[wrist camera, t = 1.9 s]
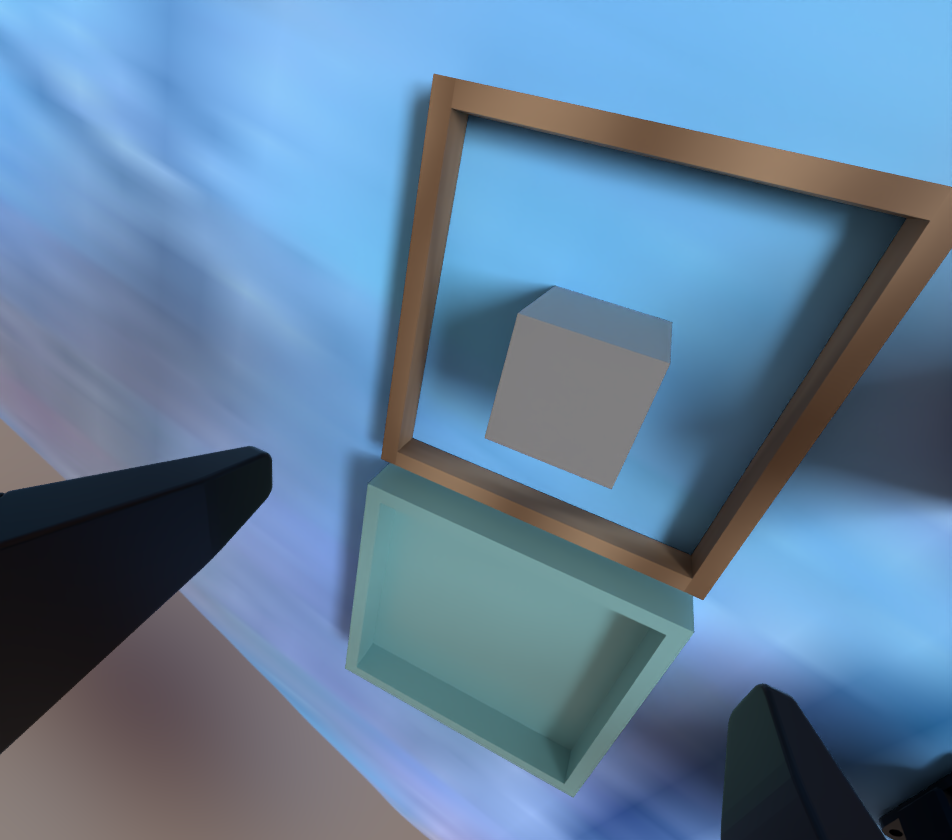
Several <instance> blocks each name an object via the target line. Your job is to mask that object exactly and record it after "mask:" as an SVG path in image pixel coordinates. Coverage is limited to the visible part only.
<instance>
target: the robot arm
mask: <svg viewBox="0 0 952 840" xmlns="http://www.w3.org/2000/svg"><path fill="white" fill-rule="evenodd" d="M271 490H272V458H271V456H270V454H268V453H267V452H265V451H263V450H260V449H258V448H256V447H253V446H247V447H241V448H236V449H231V450H225V451H220V452H215V453H209V454H204V455H199V456H193V457H188V458H183V459H177V460H172V461H167V462H161V463H156V464H151V465H145V466H140V467H135V468H129V469H124V470H119V471H113V472H108V473H103V474H97V475H92V476H87V477H81V478H76V479H71V480H65V481H60V482H55V483H50V484H45V485H40V486H34V487H29V488H23V489H18V490H12V491H8V492H7V493H0V754H1V753H2V752H3V751H5V750H6V749H7V748H8V747H9V746H10V745H11V744H12V743H13V742H14V741H15V740H16V739H18V738H19V737H20V736H21V735H22V734H23V733H24V732H25V731H26V730H27V729H28V728H29V727H31V726H32V725H33V724H34V723H35V722H36V721H37V720H38V719H39V718H40V717H41V716H43V715H44V714H45V713H46V712H47V711H48V710H49V709H50V708H51V707H52V706H53V705H54V704H56V703H57V702H58V701H59V700H60V699H61V698H62V697H63V696H64V695H65V694H66V693H67V692H68V691H70V690H71V689H72V688H73V687H74V686H75V685H76V684H77V683H78V682H79V681H80V680H81V679H83V678H84V677H85V676H86V675H87V674H88V673H89V672H90V671H91V670H92V669H94V668H95V667H96V666H97V665H98V664H99V663H100V662H101V661H102V660H103V659H104V658H106V656H108V655H109V654H110V653H111V652H112V651H113V650H114V649H115V648H116V647H117V646H119V645H120V644H121V643H122V642H123V641H124V640H125V639H126V638H127V637H128V636H129V635H130V634H131V633H133V632H134V631H135V630H136V629H137V628H138V627H139V626H140V625H141V624H142V623H144V622H145V621H146V620H147V619H148V618H149V617H150V616H151V615H152V614H153V613H154V612H155V611H157V610H158V609H159V608H160V607H161V606H162V605H163V604H164V603H165V602H166V601H167V600H168V599H170V598H171V597H172V596H173V595H174V594H175V593H176V592H177V591H178V590H179V589H180V588H182V587H183V586H184V585H185V584H186V583H187V582H188V581H189V580H190V579H191V578H192V577H193V576H195V575H196V574H197V573H198V572H199V571H200V570H201V569H202V568H203V567H204V566H205V565H206V564H207V563H208V562H209V561H210V560H212V559H213V557H214V556H215V555H216V554H217V553H218V552H219V551H220V550H221V549H222V548H223V547H224V546H225V545H226V544H227V542H228V541H229V540H230V539H231V538H232V537H233V536H234V535H235V534H236V532H237V531H238V530H239V529H240V528H241V527H242V526H243V525H244V524H245V522H246V521H247V520H248V519H249V518H250V517H251V516H252V515H253V514H254V512H255V511H256V510H257V509H258V508H259V507H260V506H261V505H262V504H263V502H264V501H265V500H266V499H267V498H268V496H269V495H270V492H271ZM879 822H880V825H881V828H882V832H883V833H884V834H885V835H886V836H888V837H889V838H891V839H893V840H952V773H950V774H949V775H947V776H946V777H944V778H942V779H941V780H939V781H938V782H936V783H935V784H933V785H931V786H930V787H928V788H927V789H925V790H924V791H922V792H920V793H919V794H917V795H916V796H914V797H912V798H911V799H909V800H908V801H906V802H905V803H903V804H901V805H900V806H898V807H897V808H895V809H894V810H892V811H890V812H889V813H887V814H886V815H884V816H883V817H881V818H880V819H879ZM882 832H881V831H880V829H879V828H878V826H877V825H876V823H875V822H874V820H873V819H872V817H871V815H870V814H869V812H868V811H867V809H866V808H865V806H864V805H863V803H862V802H861V800H860V799H859V797H858V796H857V794H856V793H855V791H854V790H853V788H852V786H851V785H850V783H849V782H848V780H847V779H846V777H845V776H844V774H843V773H842V771H841V770H840V768H839V767H838V765H837V764H836V762H835V761H834V759H833V758H832V756H831V754H830V753H829V751H828V750H827V748H826V747H825V745H824V744H823V742H822V741H821V739H820V738H819V736H818V735H817V733H816V732H815V730H814V729H813V727H812V725H811V724H810V722H809V721H808V719H807V718H806V716H805V715H804V713H803V712H802V710H801V709H800V707H799V706H798V704H797V703H796V701H795V700H794V699H793V698H792V697H791V696H790V695H788V694H786V693H784V692H782V691H780V690H778V689H776V688H773V687H771V686H769V685H767V684H763V683H762V684H758V685H756V686H755V687H754V688H753V689H752V690H751V691H750V693H749V694H748V695H747V696H746V697H745V698H744V699H743V700H742V701H741V702H740V703H739V704H738V706H737V707H736V708H735V709H734V710H733V712H732V714H731V716H730V719H729V724H728V736H727V750H726V763H725V777H724V791H723V805H722V820H721V840H886V838H885V837H884V835H883V834H882Z"/></svg>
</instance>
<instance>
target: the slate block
mask: <svg viewBox="0 0 952 840" xmlns="http://www.w3.org/2000/svg"><path fill="white" fill-rule="evenodd" d="M671 337H672V322H670V321H667V320H664V319H661V318H658V317H654V316H651V315H648V314H645V313H641V312H638V311H635V310H632V309H629V308H625V307H622V306H619V305H616V304H613V303H609V302H606V301H603V300H600V299H597V298H593V297H590V296H587V295H584V294H580V293H577V292H574V291H571V290H568V289H564V288H561V287H558V286H554V287H553V288H551V289H550V290H549V291H547V292H546V293H545V294H543V295H542V296H540V297H539V298H538V299H536V300H535V301H534V302H532V303H531V304H530V305H528V306H527V307H525V308H524V309H523V310H521V311H520V312H519V313H518V314H517V318H516V322H515V326H514V329H513V333H512V337H511V341H510V344H509V348H508V352H507V356H506V359H505V363H504V367H503V371H502V374H501V378H500V382H499V386H498V389H497V393H496V397H495V401H494V404H493V408H492V412H491V416H490V419H489V423H488V427H487V431H486V434H485V438H486V439H488V440H491V441H493V442H496V443H498V444H501V445H503V446H506V447H508V448H511V449H513V450H515V451H518V452H520V453H523V454H525V455H528V456H530V457H533V458H535V459H538V460H540V461H543V462H545V463H548V464H550V465H553V466H555V467H558V468H560V469H563V470H565V471H567V472H570V473H572V474H575V475H577V476H580V477H582V478H585V479H587V480H590V481H592V482H595V483H597V484H600V485H602V486H605V487H607V488H610V489H612V487H613V485H614V483H615V481H616V479H617V477H618V474H619V472H620V470H621V468H622V466H623V464H624V462H625V459H626V457H627V455H628V453H629V451H630V449H631V447H632V444H633V442H634V440H635V438H636V436H637V434H638V431H639V429H640V427H641V425H642V423H643V421H644V419H645V416H646V414H647V412H648V410H649V408H650V406H651V404H652V401H653V399H654V397H655V395H656V393H657V391H658V389H659V386H660V384H661V382H662V380H663V378H664V376H665V374H666V371H667V369H668V367H669V365H670V357H671Z"/></svg>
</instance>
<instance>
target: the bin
mask: <svg viewBox="0 0 952 840" xmlns="http://www.w3.org/2000/svg"><path fill="white" fill-rule="evenodd" d="M693 633H694V615H693V596H692V595H690V594H688V593H686V592H683V591H681V590H679V589H676V588H674V587H672V586H670V585H667V584H665V583H663V582H660V581H658V580H656V579H654V578H651V577H649V576H647V575H645V574H642V573H640V572H638V571H635V570H633V569H631V568H629V567H626V566H624V565H622V564H619V563H617V562H615V561H613V560H610V559H608V558H606V557H604V556H601V555H599V554H597V553H594V552H592V551H590V550H588V549H585V548H583V547H581V546H578V545H576V544H574V543H572V542H569V541H567V540H565V539H563V538H560V537H558V536H556V535H553V534H551V533H549V532H547V531H544V530H542V529H540V528H537V527H535V526H533V525H531V524H528V523H526V522H524V521H522V520H519V519H517V518H515V517H512V516H510V515H508V514H506V513H503V512H501V511H499V510H496V509H494V508H492V507H490V506H487V505H485V504H483V503H481V502H478V501H476V500H474V499H471V498H469V497H467V496H465V495H462V494H460V493H458V492H455V491H453V490H451V489H449V488H446V487H444V486H442V485H440V484H437V483H435V482H433V481H430V480H428V479H426V478H424V477H421V476H419V475H417V474H414V473H412V472H410V471H408V470H405V469H403V468H401V467H399V466H396V465H394V464H392V463H389V464H388V465H387V466H386V467H385V468H384V469H383V470H382V471H381V472H380V473H379V474H378V475H376V476H375V477H374V478H373V479H372V480H371V481H370V482H369V483H368V486H367V494H366V503H365V511H364V519H363V527H362V535H361V543H360V551H359V560H358V568H357V576H356V584H355V592H354V600H353V608H352V616H351V625H350V633H349V641H348V649H347V657H346V665H345V669H347V670H349V671H351V672H352V673H354V674H356V675H358V676H359V677H361V678H363V679H365V680H367V681H368V682H370V683H372V684H374V685H375V686H377V687H379V688H381V689H382V690H384V691H386V692H388V693H389V694H391V695H393V696H395V697H397V698H398V699H400V700H402V701H404V702H405V703H407V704H409V705H411V706H412V707H414V708H416V709H418V710H419V711H421V712H423V713H425V714H427V715H428V716H430V717H432V718H434V719H435V720H437V721H439V722H441V723H442V724H444V725H446V726H448V727H449V728H451V729H453V730H455V731H457V732H458V733H460V734H462V735H464V736H465V737H467V738H469V739H471V740H472V741H474V742H476V743H478V744H479V745H481V746H483V747H485V748H487V749H488V750H490V751H492V752H494V753H495V754H497V755H499V756H501V757H502V758H504V759H506V760H508V761H509V762H511V763H513V764H515V765H517V766H518V767H520V768H522V769H524V770H525V771H527V772H529V773H531V774H532V775H534V776H536V777H538V778H539V779H541V780H543V781H545V782H547V783H548V784H550V785H552V786H554V787H555V788H557V789H559V790H561V791H562V792H564V793H566V794H568V795H569V796H571V797H574V796H575V795H576V793H577V792H578V791H579V789H580V788H581V787H582V785H583V784H584V782H585V781H586V780H587V778H588V777H589V776H590V774H591V773H592V771H593V770H594V769H595V767H596V766H597V765H598V763H599V762H600V761H601V759H602V758H603V756H604V755H605V754H606V752H607V751H608V750H609V748H610V747H611V745H612V744H613V743H614V741H615V740H616V739H617V737H618V736H619V735H620V733H621V732H622V730H623V729H624V728H625V726H626V725H627V724H628V722H629V721H630V719H631V718H632V717H633V715H634V714H635V713H636V711H637V710H638V709H639V707H640V706H641V704H642V703H643V702H644V700H645V699H646V698H647V696H648V695H649V693H650V692H651V691H652V689H653V688H654V687H655V685H656V684H657V683H658V681H659V680H660V678H661V677H662V676H663V674H664V673H665V672H666V670H667V669H668V667H669V666H670V665H671V663H672V662H673V661H674V659H675V658H676V657H677V655H678V654H679V652H680V651H681V650H682V648H683V647H684V646H685V644H686V643H687V641H688V640H689V639H690V637H691V636H692V635H693Z"/></svg>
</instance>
